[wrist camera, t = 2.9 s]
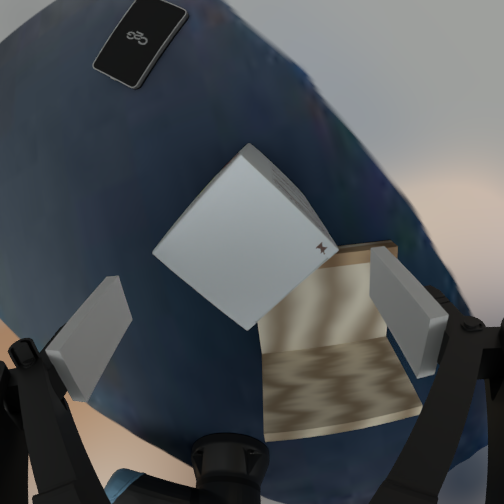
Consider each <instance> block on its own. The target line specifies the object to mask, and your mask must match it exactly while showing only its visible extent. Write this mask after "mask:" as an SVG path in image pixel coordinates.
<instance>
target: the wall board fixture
mask: <svg viewBox="0 0 504 504" xmlns="http://www.w3.org/2000/svg"><path fill="white" fill-rule="evenodd" d="M381 246H385V247H386V248H387V249H388V250H389V251H390V252H391V253H392V254H393V255H394V256H395V257H396V258H397V252H398V246H397V245H396V244H394V243H393V242H392V241H391V240H385V241H377V242H368V243H360V244H351V245H343V246H337V247H338V249H339V251H338V252H337V253H336V254H334V255H333V256H332V257H331V258H329V259H328V260H327V261H326V262H325V263H323V264H322V265H321V266H320V267H319V268H318V269H317V270H315V271H314V272H313V273H312V274H311V275H310V276H308V277H307V278H306V279H305V280H304V281H303V282H301V283H300V284H299V285H298V286H297V287H296V288H295V289H294V290H292V291H291V292H290V293H289V294H288V295H287V296H286V297H285V298H283V299H282V300H281V301H280V302H279V303H278V304H277V305H276V306H274V307H273V308H272V309H271V310H270V311H269V312H268V313H267V314H266V315H265V316H263V317H262V318H261V319H260V320H259V321H258V322H257V323H258V330H259V337H260V344H261V351H262V375H263V416H264V437H265V442H269V441H280V440H290V439H299V438H307V437H314V436H321V435H328V434H334V433H340V432H345V431H351V430H356V429H361V428H366V427H371V426H375V425H380V424H384V423H388V422H392V421H396V420H400V419H404V418H408V417H411V416H415V415H418V414H420V412H421V409H422V406H423V405H422V403H421V401H420V399H419V397H418V395H417V393H416V392H415V390H414V388H413V386H412V384H411V382H410V380H409V378H408V376H407V374H406V372H405V370H404V369H403V367H402V365H401V363H400V361H399V359H398V357H397V356H396V354H395V352H394V350H393V348H392V346H391V345H390V343H389V341H388V339H387V337H386V331H387V324H386V323H385V321H384V319H383V318H382V316H381V314H380V313H379V311H378V309H377V308H376V306H375V304H374V303H373V301H372V299H371V298H370V296H369V289H370V255H371V248H373V247H381Z"/></svg>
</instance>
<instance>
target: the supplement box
mask: <svg viewBox="0 0 504 504" xmlns="http://www.w3.org/2000/svg"><path fill="white" fill-rule="evenodd" d="M338 251H339V249H338V247H337V245H336V244H335V242H334V241H333V239H332V238H331V236H330V234H329V233H328V231H327V230H326V228H325V226H324V225H323V223H322V222H321V220H320V219H319V217H318V216H317V214H316V213H315V211H314V210H313V208H312V207H311V205H310V204H309V202H308V201H307V199H306V198H305V196H304V195H303V193H302V192H301V191H300V190H299V189H298V188H297V187H296V186H295V185H294V184H293V183H292V182H291V181H290V180H289V179H288V178H287V177H286V176H285V175H284V174H283V173H282V172H281V171H280V170H279V169H278V168H277V167H276V166H275V165H274V164H273V163H272V162H271V161H270V160H269V159H268V158H267V157H265V156H264V155H263V154H262V153H261V152H260V151H259V150H258V149H256V148H255V147H254V146H253V145H251V144H250V143H248V144H247V145H246V146H245V147H243V148H242V149H241V150H240V151H239V152H238V153H237V154H236V155H235V156H234V157H233V158H232V159H231V160H230V161H229V162H228V163H227V164H226V165H225V166H224V167H223V168H222V170H221V171H220V172H219V173H218V174H217V175H216V176H215V177H214V178H213V179H212V180H211V181H210V183H209V184H208V185H207V186H206V187H205V188H204V189H203V190H202V191H201V193H200V194H199V195H198V196H197V197H196V198H195V199H194V201H193V202H192V203H191V204H190V205H189V207H188V208H187V209H186V210H185V211H184V213H183V214H182V215H181V216H180V217H179V219H178V220H177V221H176V222H175V223H174V225H173V226H172V227H171V228H170V230H169V231H168V232H167V233H166V235H165V236H164V237H163V238H162V240H161V241H160V242H159V244H158V245H157V246H156V248H155V249H154V250H153V252H152V254H153V255H154V256H156V257H157V258H158V259H159V260H160V261H161V262H162V263H164V264H165V265H166V266H167V267H168V268H169V269H170V270H172V271H173V272H174V273H175V274H177V275H178V276H179V277H180V278H181V279H183V280H184V281H185V282H186V283H188V284H189V285H190V286H191V287H192V288H194V289H195V290H196V291H197V292H199V293H200V294H201V295H202V296H203V297H205V298H206V299H207V300H208V301H210V302H211V303H212V304H213V305H215V306H216V307H217V308H218V309H220V310H221V311H222V312H223V313H225V314H226V315H227V316H228V317H230V318H231V319H232V320H234V321H235V322H236V323H238V324H239V325H240V326H241V327H243V328H244V329H245V330H249V329H250V328H251V327H253V326H254V325H255V324H256V323H257V322H258V321H259V320H260V319H261V318H262V317H263V316H265V315H266V314H267V313H268V312H269V311H270V310H271V309H272V308H273V307H274V306H276V305H277V304H278V303H279V302H280V301H281V300H282V299H283V298H285V297H286V296H287V295H288V294H289V293H290V292H291V291H292V290H294V289H295V288H296V287H297V286H298V285H299V284H300V283H301V282H303V281H304V280H305V279H306V278H307V277H308V276H310V275H311V274H312V273H313V272H314V271H315V270H317V269H318V268H319V267H320V266H321V265H322V264H323V263H325V262H326V261H327V260H328V259H329V258H331V257H332V256H333V255H334V254H336V253H337V252H338Z"/></svg>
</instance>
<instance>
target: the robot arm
mask: <svg viewBox="0 0 504 504" xmlns="http://www.w3.org/2000/svg"><path fill="white" fill-rule="evenodd" d="M369 296H370V298H371V299H372V301H373V303H374V304H375V306H376V308H377V309H378V311H379V313H380V314H381V316H382V318H383V319H384V321H385V323H386V324H387V326H388V328H389V329H390V331H391V333H392V335H393V336H394V338H395V340H396V341H397V343H398V345H399V347H400V348H401V350H402V352H403V354H404V356H405V357H406V359H407V361H408V363H409V364H410V366H411V368H412V370H413V372H414V374H415V375H416V377H417V379H418V378H422V377H425V376H429V375H433V374H434V373H435V369H436V366H437V362H438V364H439V365H440V367H439V369H438V372H437V375H436V377H435V380H434V382H433V385H432V387H431V390H430V392H429V395H428V397H427V399H426V402H425V404H424V406H423V408H422V411H421V413H420V415H419V417H418V419H417V422H416V424H415V426H414V428H413V430H412V432H411V434H410V436H409V438H408V440H407V442H406V444H405V446H404V448H403V450H402V452H401V453H400V455H399V457H398V459H397V461H396V463H395V464H394V466H393V468H392V470H391V471H390V473H389V475H388V476H387V478H386V479H385V480H384V481H383V483H382V484H381V485H380V487H379V488H378V490H377V492H376V493H375V495H374V496H373V498H372V499H371V501H370V502H369V504H437V501H438V493H439V491H440V489H441V487H442V484H443V482H444V480H445V477H446V475H447V472H448V470H449V467H450V465H451V462H452V460H453V457H454V454H455V452H456V449H457V446H458V443H459V440H460V437H461V434H462V431H463V428H464V425H465V422H466V418H467V415H468V411H469V408H470V404H471V400H472V397H473V393H474V389H475V385H476V380H477V379H484V380H485V390H486V402H487V419H488V475H487V489H486V501H485V504H504V318H503V320H502V323H501V326H500V327H486V326H485V324H484V323H483V322H482V321H481V320H479V319H478V318H475V317H472V316H463V315H462V313H461V312H460V311H459V310H458V309H457V308H456V307H455V306H454V305H453V304H452V303H451V302H450V301H449V300H448V299H447V298H446V297H445V295H444V294H443V293H442V292H441V291H440V290H438V289H436V288H434V287H432V286H431V285H429V286H424V287H423V286H422V285H421V284H420V282H419V281H418V280H417V279H416V278H415V277H414V276H413V275H412V274H411V273H410V272H409V271H408V270H407V269H406V268H405V267H404V266H403V265H402V264H401V262H400V261H399V260H398V259H397V258H396V257H395V256H394V255H393V254H392V253H391V252H390V251H389V250H388V249H387V248H386V247H385V246H381V247H373V248H371V255H370V289H369ZM131 321H132V316H131V313H130V311H129V308H128V304H127V301H126V298H125V295H124V292H123V289H122V286H121V282H120V279H119V276H110V277H106V278H105V279H104V280H103V281H102V283H101V284H100V285H99V286H98V287H97V288H96V289H95V290H94V292H93V293H92V294H91V295H90V296H89V297H88V299H87V300H86V301H85V302H84V303H83V304H82V305H81V307H80V308H79V309H78V310H77V311H76V313H75V314H74V315H73V316H72V317H71V319H70V320H69V321H68V322H67V323H66V324H64V325H63V326H62V327H60V328H59V330H58V331H57V332H56V333H55V335H54V336H53V337H52V338H51V340H50V341H49V342H48V343H47V344H46V346H45V347H44V348H43V349H42V351H41V352H40V353H39V352H38V350H37V348H36V346H35V344H34V342H33V340H32V339H31V338H24V339H20V340H18V341H16V342H15V343H14V344H12V345H11V347H10V348H9V350H8V353H9V355H10V357H11V359H12V361H13V362H14V364H15V366H16V368H14V369H8V368H7V366H6V365H5V363H4V362H3V361H0V504H28V455H29V457H30V462H31V465H32V470H33V474H34V478H35V482H36V485H37V489H38V493H39V494H37V495H34V496H33V497H32V500H33V504H261V503H260V502H261V500H260V486H261V483H262V481H263V478H264V476H265V473H266V471H267V468H268V465H269V451H268V449H267V447H266V446H265V445H264V444H263V443H261V442H260V441H258V440H256V439H254V438H251V437H248V436H245V435H240V434H232V433H220V434H212V435H208V436H205V437H202V438H200V439H199V440H197V441H196V442H195V443H194V445H193V447H192V453H191V461H192V465H193V469H194V473H195V477H196V488H193V487H189V486H185V485H181V484H177V483H174V482H170V481H166V480H163V479H160V478H156V477H153V476H150V475H147V474H146V473H140V472H136V471H133V470H130V469H125V468H123V469H119V470H117V471H116V472H115V473H114V474H113V475H112V476H111V478H110V480H109V481H108V483H107V485H106V487H105V488H104V489H103V487H102V485H101V483H100V481H99V479H98V477H97V475H96V473H95V470H94V468H93V466H92V464H91V462H90V459H89V457H88V455H87V453H86V450H85V448H84V445H83V443H82V441H81V438H80V436H79V433H78V430H77V428H76V425H75V423H74V420H73V417H72V414H71V412H70V409H69V406H68V403H67V401H66V400H65V398H64V395H65V394H66V392H67V391H68V393H69V394H70V396H71V398H72V399H73V401H81V402H88V400H89V398H90V396H91V394H92V392H93V390H94V388H95V386H96V384H97V382H98V381H99V379H100V377H101V375H102V373H103V371H104V369H105V367H106V366H107V364H108V362H109V360H110V358H111V356H112V355H113V353H114V351H115V349H116V347H117V346H118V344H119V342H120V340H121V339H122V337H123V335H124V333H125V332H126V330H127V328H128V326H129V325H130V323H131ZM5 409H6V410H5Z"/></svg>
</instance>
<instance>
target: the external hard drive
mask: <svg viewBox="0 0 504 504" xmlns="http://www.w3.org/2000/svg"><path fill="white" fill-rule="evenodd" d="M188 17H189V15H188V13H187V11H186V10H185V9H183V8H181V7H179V6H177V5H174V4H172V3H170V2H167V1H165V0H135V1H134V2H133V4H132V5H131V7H130V8H129V9H128V11H127V12H126V13H125V15H124V16H123V18H122V19H121V20H120V22H119V23H118V25H117V26H116V28H115V29H114V31H113V32H112V34H111V35H110V37H109V38H108V40H107V41H106V43H105V44H104V46H103V48H102V49H101V51H100V52H99V54H98V56H97V57H96V59H95V61H94V62H93V68H94V69H95V70H97V71H99V72H101V73H103V74H105V75H107V76H109V77H110V78H111V79H113V80H115V81H116V80H117V81H119V82H121V83H123V84H124V85H126V86H128V87H130V88H133V89H139V88H140V87H141V86H142V84H143V83H144V81H145V80H146V78H147V76H148V75H149V73H150V72H151V70H152V69H153V67H154V66H155V64H156V63H157V61H158V60H159V58H160V57H161V55H162V54H163V52H164V51H165V49H166V48H167V46H168V45H169V44H170V42H171V41H172V39H173V38H174V37H175V35H176V34H177V33H178V31H179V30H180V29H181V27H182V26H183V25H184V23H185V22H186V21H187V19H188Z"/></svg>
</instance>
